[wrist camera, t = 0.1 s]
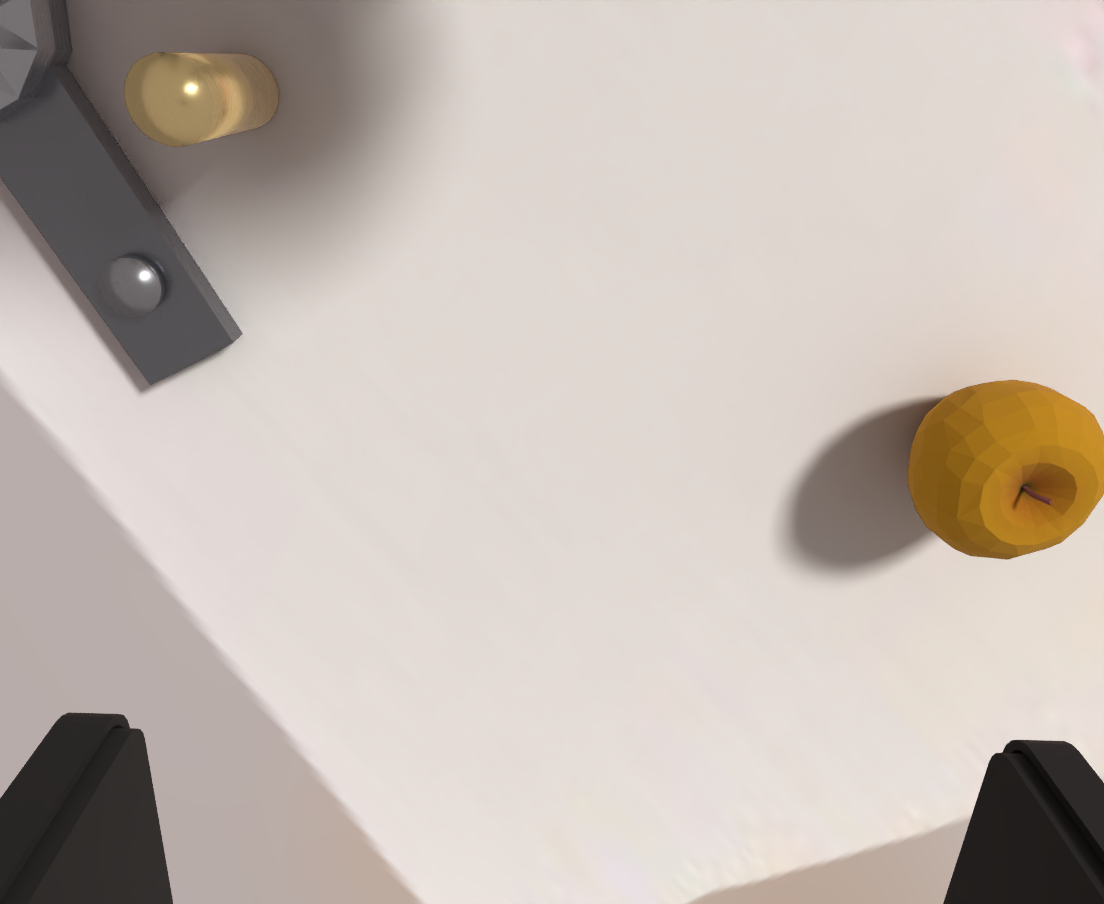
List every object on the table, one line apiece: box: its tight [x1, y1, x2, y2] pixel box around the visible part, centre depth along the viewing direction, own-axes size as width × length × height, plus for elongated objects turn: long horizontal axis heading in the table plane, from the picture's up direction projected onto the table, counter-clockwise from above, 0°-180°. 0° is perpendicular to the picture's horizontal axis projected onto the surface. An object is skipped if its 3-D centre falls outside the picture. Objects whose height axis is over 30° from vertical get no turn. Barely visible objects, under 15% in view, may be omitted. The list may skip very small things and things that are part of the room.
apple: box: [908, 380, 1104, 559], centre depth 44 cm, size 9×9×9 cm
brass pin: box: [124, 53, 279, 147], centre depth 36 cm, size 3×3×9 cm
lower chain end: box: [0, 0, 242, 385], centre depth 40 cm, size 22×9×2 cm, turn 26°
